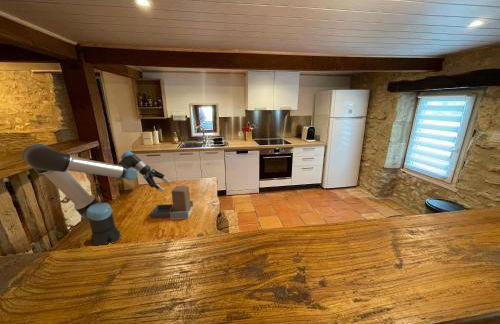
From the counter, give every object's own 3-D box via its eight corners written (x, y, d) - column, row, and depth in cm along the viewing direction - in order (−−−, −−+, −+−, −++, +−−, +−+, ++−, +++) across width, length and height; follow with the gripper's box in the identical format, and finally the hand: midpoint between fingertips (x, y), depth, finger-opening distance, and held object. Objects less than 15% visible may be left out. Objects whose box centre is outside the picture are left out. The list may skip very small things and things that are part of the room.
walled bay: (170, 219, 147) (169, 212, 146) (177, 207, 165) (176, 200, 163) (188, 218, 148) (187, 212, 146) (193, 206, 165) (192, 200, 164)
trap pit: (151, 218, 149) (150, 213, 148) (157, 209, 162) (157, 204, 160) (169, 217, 149) (168, 213, 148) (175, 208, 162) (174, 204, 161)
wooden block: (186, 215, 151) (184, 191, 145) (173, 215, 152) (170, 191, 146) (191, 208, 161) (189, 185, 155) (179, 208, 161) (176, 185, 155)
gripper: (147, 166, 157) (168, 184, 162) (130, 178, 133) (156, 198, 138) (153, 160, 156) (174, 177, 161) (137, 170, 132) (163, 191, 137)
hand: (166, 187), depth 149 cm, fingers open, 13 cm apart
